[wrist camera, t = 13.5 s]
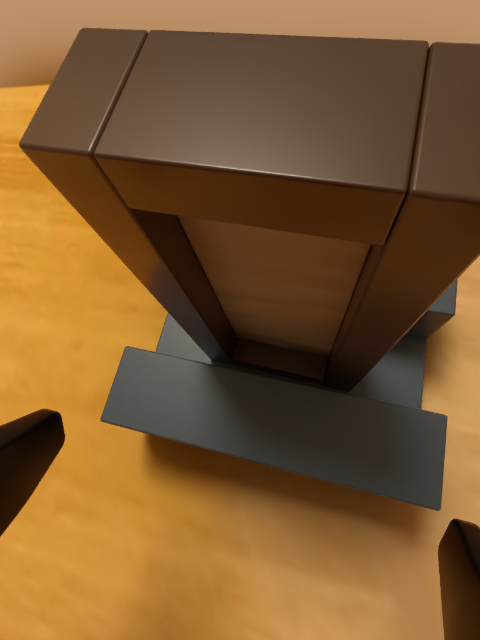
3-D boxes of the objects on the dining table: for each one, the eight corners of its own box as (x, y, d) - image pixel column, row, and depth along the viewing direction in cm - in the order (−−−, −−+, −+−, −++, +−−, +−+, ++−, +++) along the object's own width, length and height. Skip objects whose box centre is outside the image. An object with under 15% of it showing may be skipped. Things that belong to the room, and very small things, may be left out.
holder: (404, 496, 16) (441, 512, 12) (141, 427, 18) (99, 420, 14) (425, 288, 18) (460, 244, 14) (195, 253, 21) (172, 206, 17)
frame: (350, 392, 16) (529, 207, 4) (210, 359, 17) (15, 145, 5) (359, 340, 17) (534, 43, 5) (223, 312, 18) (80, 25, 6)
